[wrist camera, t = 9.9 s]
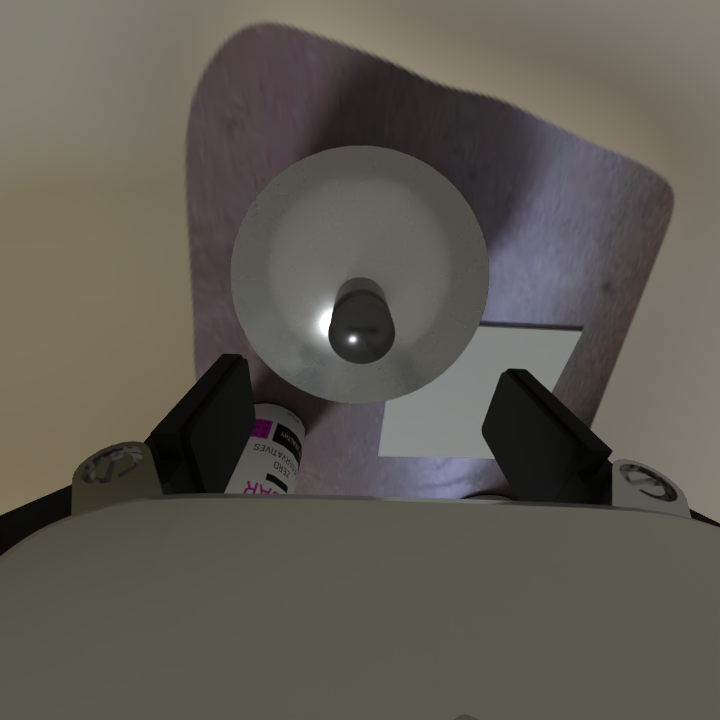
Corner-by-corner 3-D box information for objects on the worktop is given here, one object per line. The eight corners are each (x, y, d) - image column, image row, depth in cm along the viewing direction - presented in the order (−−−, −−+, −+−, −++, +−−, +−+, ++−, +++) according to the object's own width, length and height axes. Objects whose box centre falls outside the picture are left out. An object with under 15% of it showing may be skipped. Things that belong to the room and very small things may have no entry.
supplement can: (226, 439, 33) (147, 593, 20) (245, 388, 30) (163, 538, 17) (291, 458, 35) (256, 611, 22) (316, 414, 32) (292, 564, 19)
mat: (515, 456, 36) (516, 459, 36) (378, 453, 35) (378, 456, 35) (579, 330, 27) (582, 331, 27) (396, 320, 26) (397, 322, 26)
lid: (452, 400, 23) (480, 458, 17) (253, 391, 22) (220, 449, 17) (518, 161, 15) (605, 136, 10) (215, 137, 14) (132, 97, 9)
